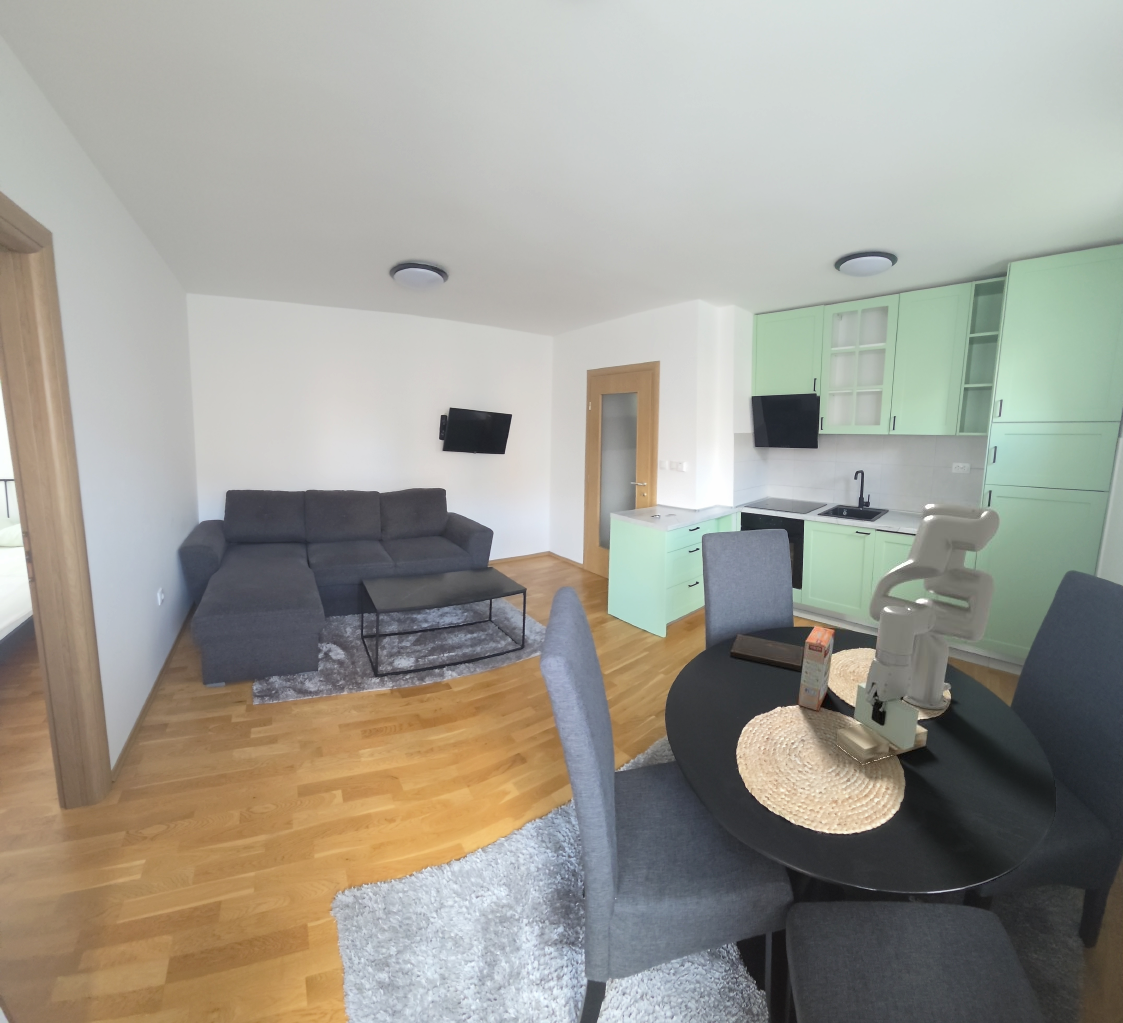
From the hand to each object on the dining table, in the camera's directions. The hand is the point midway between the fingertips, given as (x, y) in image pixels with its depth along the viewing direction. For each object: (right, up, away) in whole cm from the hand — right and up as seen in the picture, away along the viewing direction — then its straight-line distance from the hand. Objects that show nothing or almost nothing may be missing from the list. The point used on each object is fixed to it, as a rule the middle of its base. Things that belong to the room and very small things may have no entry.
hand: (883, 720), depth 130 cm
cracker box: (-6, -3, +23) cm, 24 cm away
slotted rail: (0, -7, +2) cm, 8 cm away
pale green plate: (0, -3, +1) cm, 3 cm away
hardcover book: (-9, +2, +52) cm, 53 cm away
